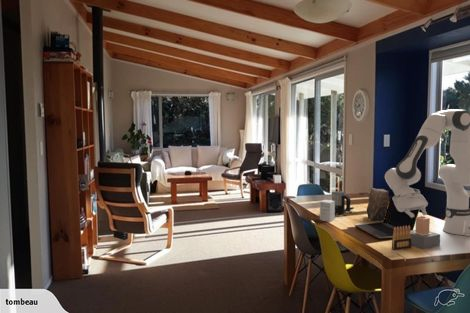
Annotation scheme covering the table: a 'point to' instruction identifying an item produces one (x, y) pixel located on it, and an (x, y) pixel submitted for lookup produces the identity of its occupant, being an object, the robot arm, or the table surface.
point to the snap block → (422, 225)
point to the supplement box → (327, 210)
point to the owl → (377, 204)
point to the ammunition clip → (401, 238)
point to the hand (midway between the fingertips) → (419, 215)
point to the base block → (425, 239)
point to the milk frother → (341, 202)
